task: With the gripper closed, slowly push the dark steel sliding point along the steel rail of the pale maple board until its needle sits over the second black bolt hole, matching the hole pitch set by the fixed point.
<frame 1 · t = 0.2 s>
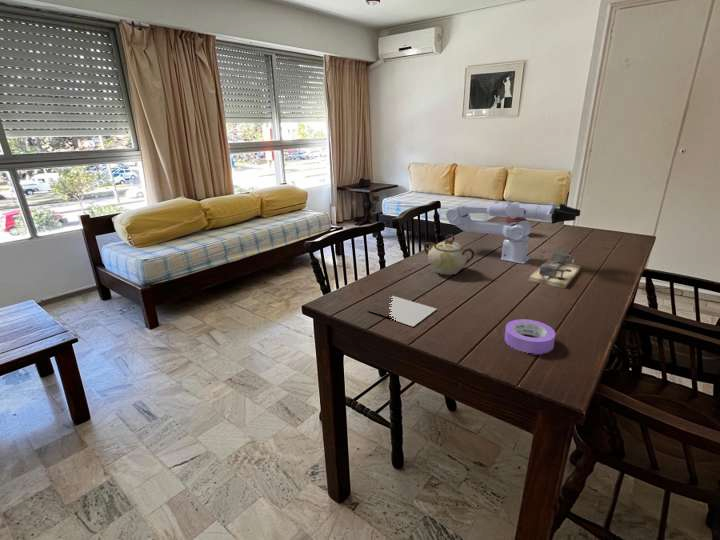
hand: (577, 215, 138), 21 cm above the table, tool horizontal, fingers open, 7 cm apart
mechanical component: (513, 234, 195), on the table
masking tape: (528, 343, 98), on the table
sliding point: (563, 258, 146), point 4 cm above the table, slide at 0.0 cm
hole board: (555, 274, 141), on the table
paper stack: (421, 310, 117), on the table
cream teapot: (447, 271, 147), on the table
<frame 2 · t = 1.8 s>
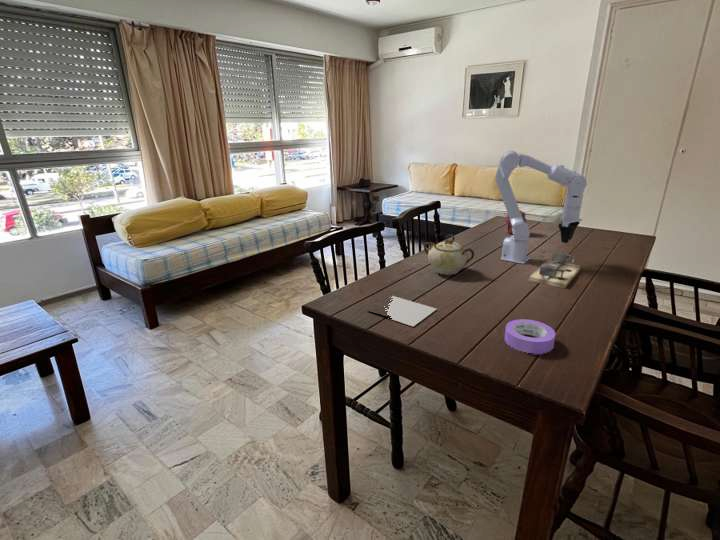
hand: (566, 240, 149), 9 cm above the table, tool pointing down, fingers open, 5 cm apart
nothing on the table moved.
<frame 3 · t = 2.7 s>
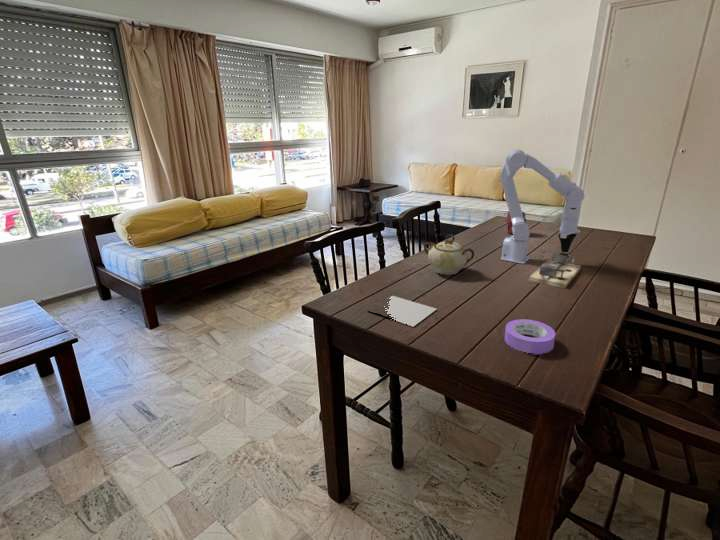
hand: (564, 251, 150), 5 cm above the table, tool pointing down, fingers closed
nothing on the table moved.
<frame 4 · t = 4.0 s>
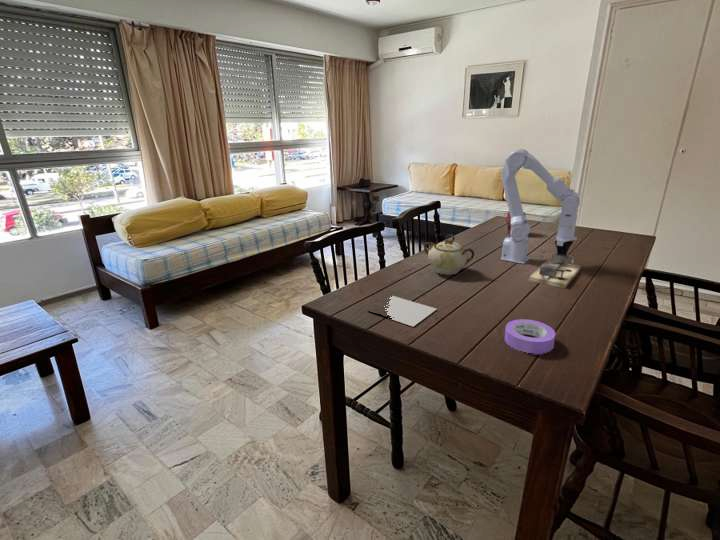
hand: (561, 259, 148), 3 cm above the table, tool pointing down, fingers closed
sliding point: (563, 258, 145), point 4 cm above the table, slide at 0.8 cm, touching gripper
everything else where it was.
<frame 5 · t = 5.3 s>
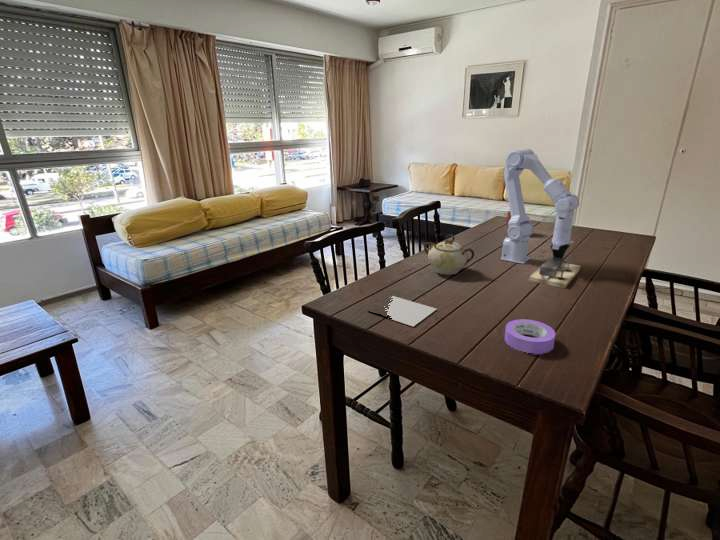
hand: (557, 263, 144), 3 cm above the table, tool pointing down, fingers closed
sliding point: (559, 262, 141), point 4 cm above the table, slide at 6.7 cm, touching gripper
everything else where it was.
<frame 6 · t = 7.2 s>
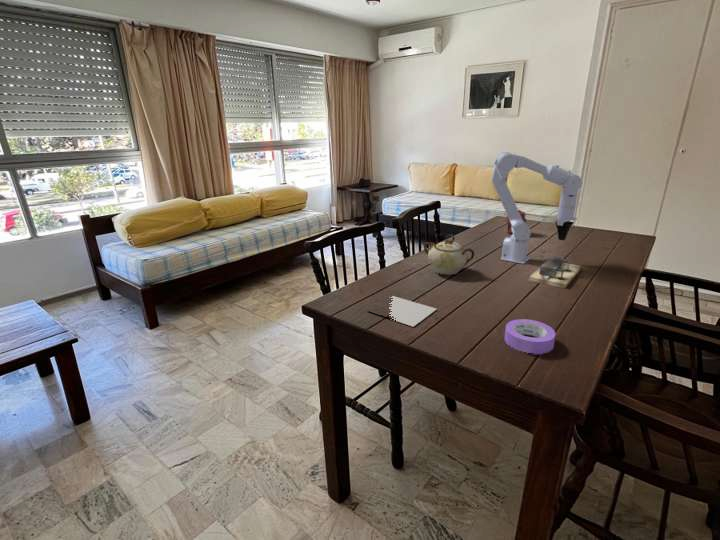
hand: (561, 239, 150), 9 cm above the table, tool pointing down, fingers closed
sliding point: (559, 262, 141), point 4 cm above the table, slide at 6.7 cm
everything else where it was.
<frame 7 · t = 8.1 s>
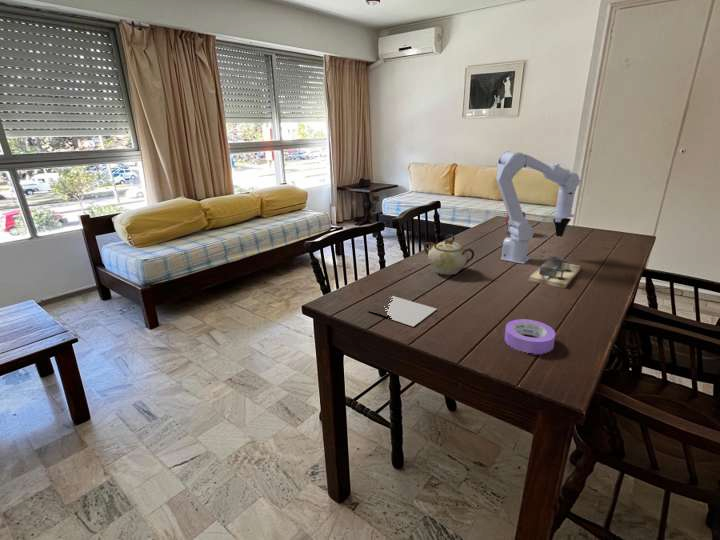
hand: (559, 236, 155), 9 cm above the table, tool pointing down, fingers closed
nothing on the table moved.
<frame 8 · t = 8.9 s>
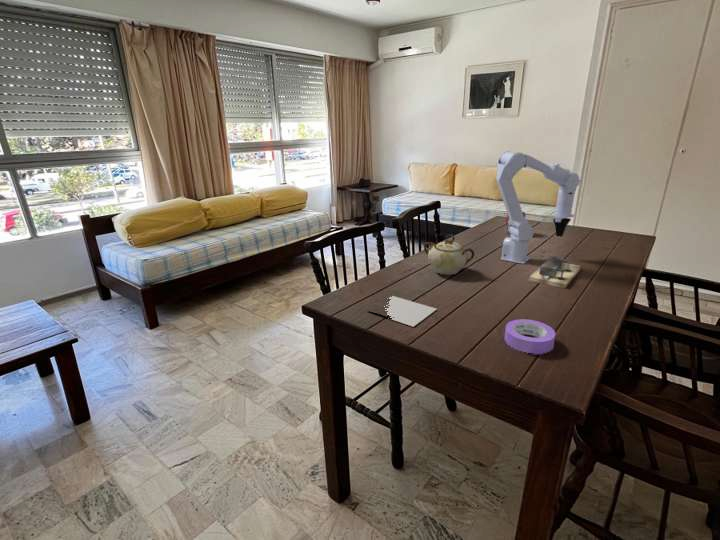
hand: (559, 236, 155), 9 cm above the table, tool pointing down, fingers closed
nothing on the table moved.
at the end: sliding point slide at 6.7 cm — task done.
